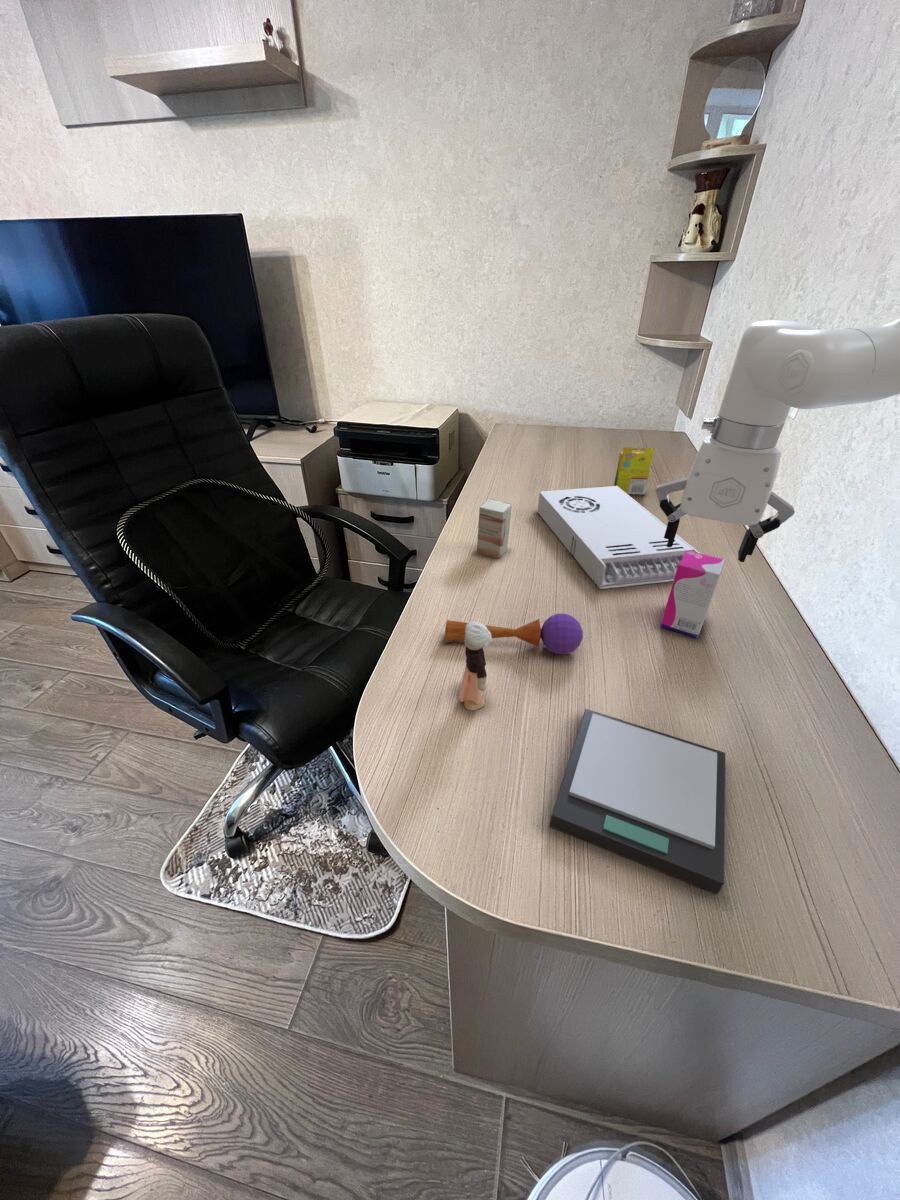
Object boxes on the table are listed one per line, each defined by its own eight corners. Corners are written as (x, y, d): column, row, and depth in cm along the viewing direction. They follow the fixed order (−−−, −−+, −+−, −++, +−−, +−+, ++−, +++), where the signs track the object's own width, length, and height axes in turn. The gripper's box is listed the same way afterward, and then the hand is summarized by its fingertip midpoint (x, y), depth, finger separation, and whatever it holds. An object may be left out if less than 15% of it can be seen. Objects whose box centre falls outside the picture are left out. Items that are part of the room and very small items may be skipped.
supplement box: (704, 619, 81) (726, 558, 75) (697, 639, 77) (720, 576, 71) (667, 608, 84) (686, 548, 77) (658, 626, 80) (677, 564, 73)
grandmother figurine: (449, 685, 69) (449, 610, 61) (474, 678, 70) (478, 604, 63) (470, 725, 63) (473, 648, 56) (498, 717, 64) (504, 640, 57)
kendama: (448, 605, 77) (581, 607, 74) (450, 639, 80) (579, 642, 77) (442, 622, 72) (585, 625, 69) (444, 658, 74) (583, 662, 71)
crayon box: (642, 490, 126) (653, 444, 119) (644, 495, 123) (656, 448, 117) (612, 489, 126) (621, 443, 120) (614, 493, 124) (623, 447, 117)
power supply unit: (599, 589, 88) (604, 565, 86) (537, 512, 115) (539, 491, 112) (695, 579, 91) (703, 555, 89) (613, 505, 118) (617, 485, 115)
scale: (720, 763, 58) (727, 749, 57) (717, 894, 46) (726, 880, 45) (583, 719, 64) (586, 704, 62) (549, 826, 52) (552, 811, 50)
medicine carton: (475, 553, 99) (477, 506, 93) (485, 544, 102) (487, 497, 96) (500, 559, 97) (503, 511, 91) (508, 550, 100) (512, 503, 94)
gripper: (670, 431, 63) (639, 549, 73) (829, 451, 58) (772, 576, 68) (675, 416, 69) (646, 528, 79) (820, 433, 63) (769, 551, 73)
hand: (704, 550), depth 73 cm, fingers open, 9 cm apart
